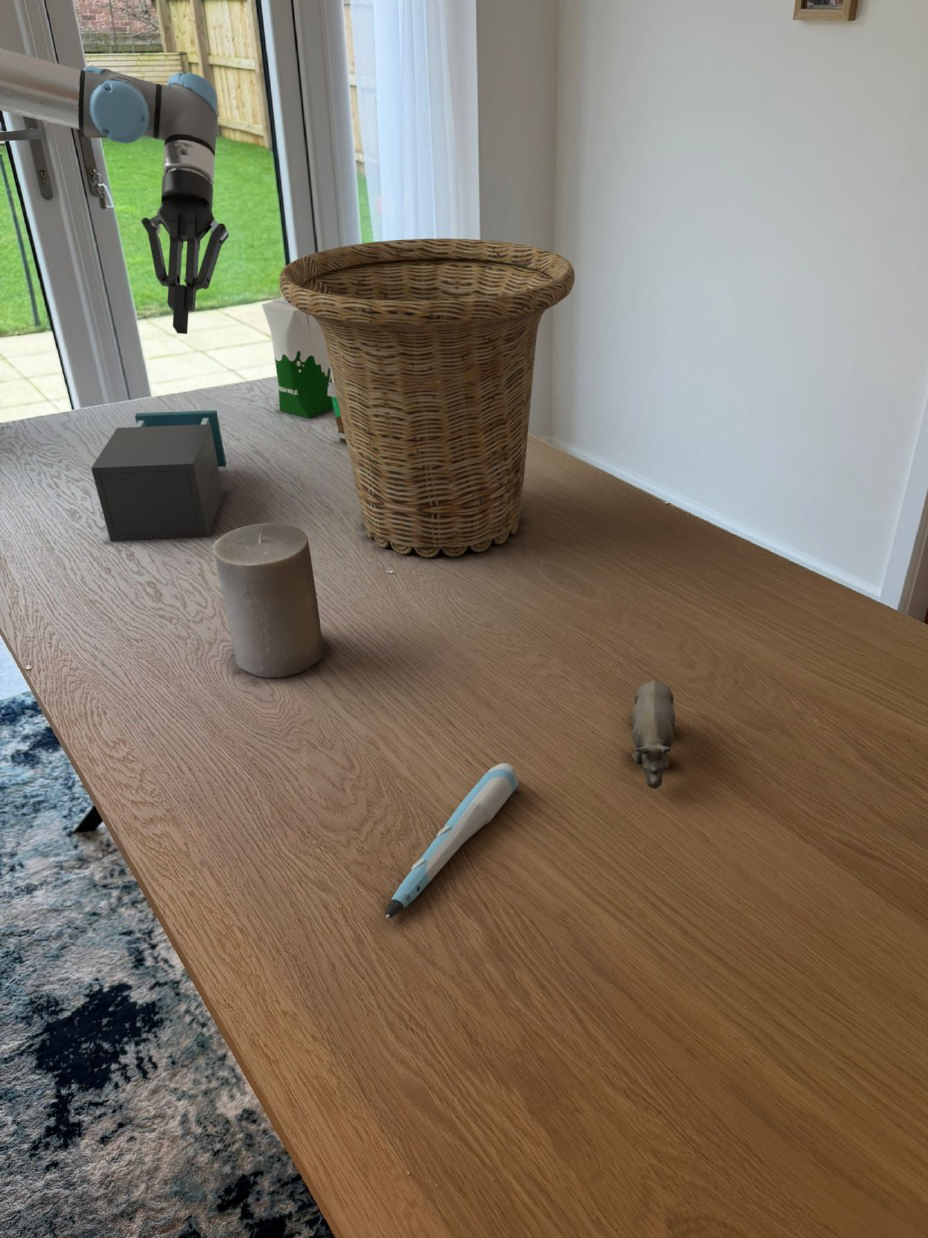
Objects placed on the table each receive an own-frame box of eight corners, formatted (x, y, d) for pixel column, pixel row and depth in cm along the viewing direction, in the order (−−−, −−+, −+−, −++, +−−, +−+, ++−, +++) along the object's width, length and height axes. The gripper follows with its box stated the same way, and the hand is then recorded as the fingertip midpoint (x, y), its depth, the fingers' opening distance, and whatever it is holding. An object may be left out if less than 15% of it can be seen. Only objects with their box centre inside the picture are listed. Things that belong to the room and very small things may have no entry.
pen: (491, 780, 95) (490, 756, 93) (521, 790, 94) (521, 766, 92) (372, 919, 81) (368, 893, 79) (406, 932, 80) (403, 906, 78)
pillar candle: (323, 629, 118) (307, 507, 109) (324, 674, 110) (306, 548, 101) (237, 636, 116) (213, 514, 108) (231, 683, 108) (205, 555, 100)
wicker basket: (485, 457, 160) (478, 227, 141) (621, 539, 136) (635, 275, 117) (274, 509, 145) (234, 258, 126) (385, 611, 121) (357, 320, 102)
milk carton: (344, 406, 180) (331, 287, 169) (307, 421, 174) (291, 298, 163) (308, 397, 185) (293, 280, 173) (271, 411, 178) (253, 290, 167)
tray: (156, 453, 160) (144, 400, 155) (231, 450, 161) (222, 397, 156) (129, 503, 144) (115, 446, 139) (213, 500, 145) (202, 443, 140)
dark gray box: (133, 496, 149) (117, 427, 143) (223, 492, 150) (210, 423, 144) (110, 541, 137) (90, 467, 131) (207, 536, 138) (192, 463, 132)
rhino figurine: (626, 806, 92) (630, 753, 88) (630, 717, 103) (633, 667, 100) (673, 809, 91) (678, 756, 88) (671, 720, 103) (676, 669, 99)
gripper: (137, 163, 154) (128, 316, 153) (225, 170, 155) (217, 322, 154) (152, 190, 162) (144, 337, 160) (236, 197, 163) (228, 342, 161)
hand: (180, 329), depth 157 cm, fingers closed
